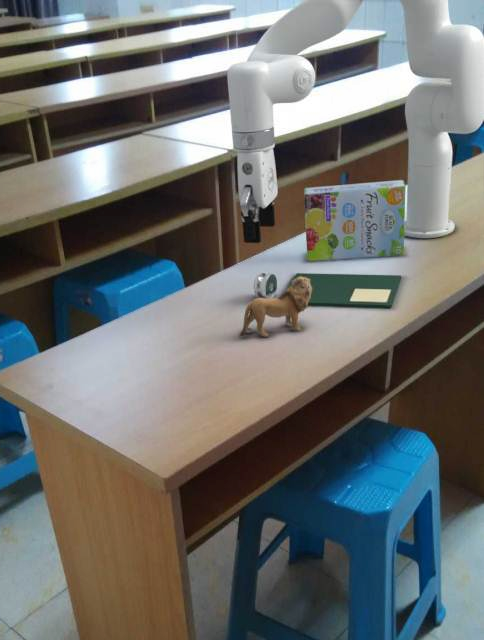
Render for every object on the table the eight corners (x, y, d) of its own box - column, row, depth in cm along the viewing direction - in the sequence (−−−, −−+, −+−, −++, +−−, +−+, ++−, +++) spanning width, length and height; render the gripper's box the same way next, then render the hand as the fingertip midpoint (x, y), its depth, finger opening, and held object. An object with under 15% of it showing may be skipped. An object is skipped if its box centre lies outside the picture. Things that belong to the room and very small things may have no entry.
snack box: (401, 247, 161) (403, 178, 153) (403, 256, 156) (406, 185, 148) (307, 253, 164) (304, 186, 156) (306, 262, 159) (303, 193, 151)
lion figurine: (306, 316, 136) (304, 270, 131) (319, 326, 132) (317, 279, 127) (234, 334, 132) (229, 288, 127) (244, 345, 128) (240, 298, 123)
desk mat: (296, 275, 153) (296, 272, 153) (401, 278, 146) (401, 274, 146) (278, 304, 142) (278, 300, 141) (390, 308, 135) (390, 304, 134)
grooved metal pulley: (266, 303, 143) (264, 279, 140) (253, 301, 144) (251, 277, 141) (277, 293, 146) (276, 270, 143) (265, 292, 148) (263, 268, 145)
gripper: (259, 150, 120) (266, 249, 130) (286, 129, 134) (290, 220, 143) (218, 151, 123) (227, 248, 132) (247, 130, 136) (254, 220, 146)
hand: (260, 234), depth 138 cm, fingers open, 9 cm apart
